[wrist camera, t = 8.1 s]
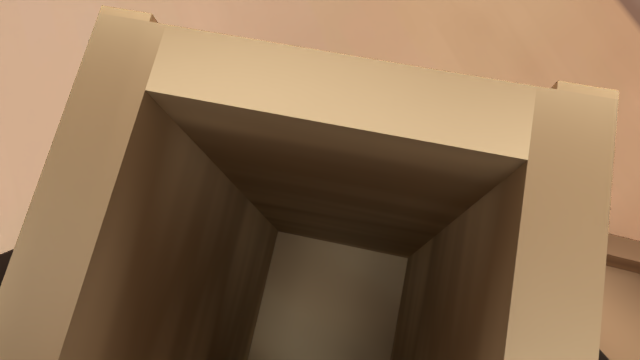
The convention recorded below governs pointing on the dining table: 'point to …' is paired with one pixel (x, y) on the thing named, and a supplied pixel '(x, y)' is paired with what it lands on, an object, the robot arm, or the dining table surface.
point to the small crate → (309, 209)
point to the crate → (621, 300)
